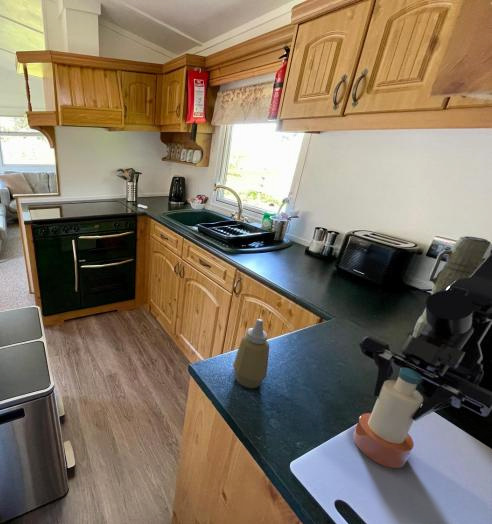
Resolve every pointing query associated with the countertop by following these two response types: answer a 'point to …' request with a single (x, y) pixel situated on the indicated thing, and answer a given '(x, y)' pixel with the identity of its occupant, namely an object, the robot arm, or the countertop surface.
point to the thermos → (455, 268)
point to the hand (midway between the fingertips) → (393, 407)
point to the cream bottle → (396, 407)
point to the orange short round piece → (381, 445)
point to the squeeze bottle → (252, 357)
